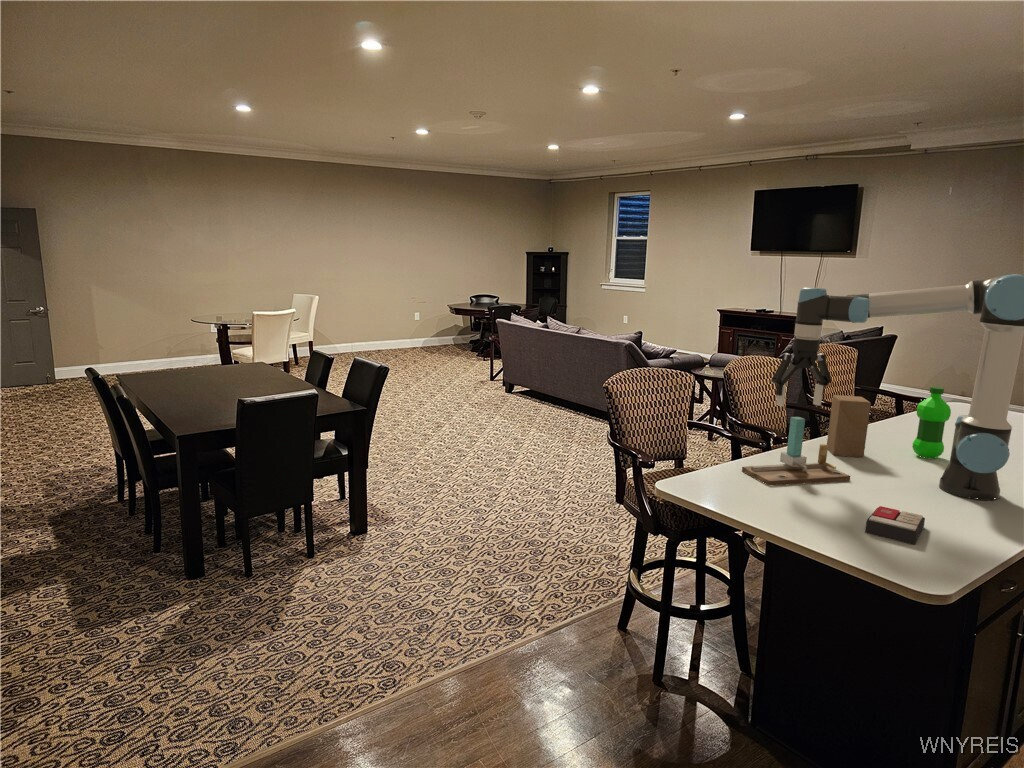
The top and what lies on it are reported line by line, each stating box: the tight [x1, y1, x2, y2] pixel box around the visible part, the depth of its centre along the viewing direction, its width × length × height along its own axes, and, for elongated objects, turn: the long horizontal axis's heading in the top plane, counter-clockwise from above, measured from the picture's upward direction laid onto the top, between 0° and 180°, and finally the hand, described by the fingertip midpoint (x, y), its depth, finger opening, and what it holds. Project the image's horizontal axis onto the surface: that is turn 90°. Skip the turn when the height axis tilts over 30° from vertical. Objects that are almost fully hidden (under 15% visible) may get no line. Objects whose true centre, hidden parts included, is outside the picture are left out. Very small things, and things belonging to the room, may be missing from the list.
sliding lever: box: [779, 416, 808, 473], centre depth 210 cm, size 9×5×16 cm, turn 15°
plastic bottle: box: [911, 386, 952, 459], centre depth 234 cm, size 10×10×25 cm
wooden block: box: [826, 394, 872, 458], centre depth 236 cm, size 10×10×20 cm
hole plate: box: [741, 443, 851, 486], centre depth 209 cm, size 14×29×9 cm, turn 105°
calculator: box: [864, 505, 926, 546], centre depth 169 cm, size 11×4×15 cm
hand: (798, 405), depth 209 cm, fingers open, 13 cm apart
